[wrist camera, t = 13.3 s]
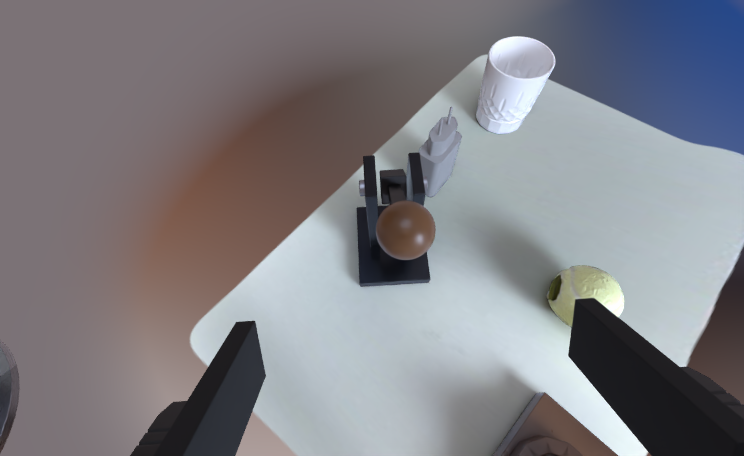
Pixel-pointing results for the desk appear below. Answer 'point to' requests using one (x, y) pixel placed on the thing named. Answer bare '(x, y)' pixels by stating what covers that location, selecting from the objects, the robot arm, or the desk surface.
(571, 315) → the tennis ball
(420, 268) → the bracket
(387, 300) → the desk surface
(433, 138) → the power adapter
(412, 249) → the lever
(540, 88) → the white cup
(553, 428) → the button block
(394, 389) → the desk surface
